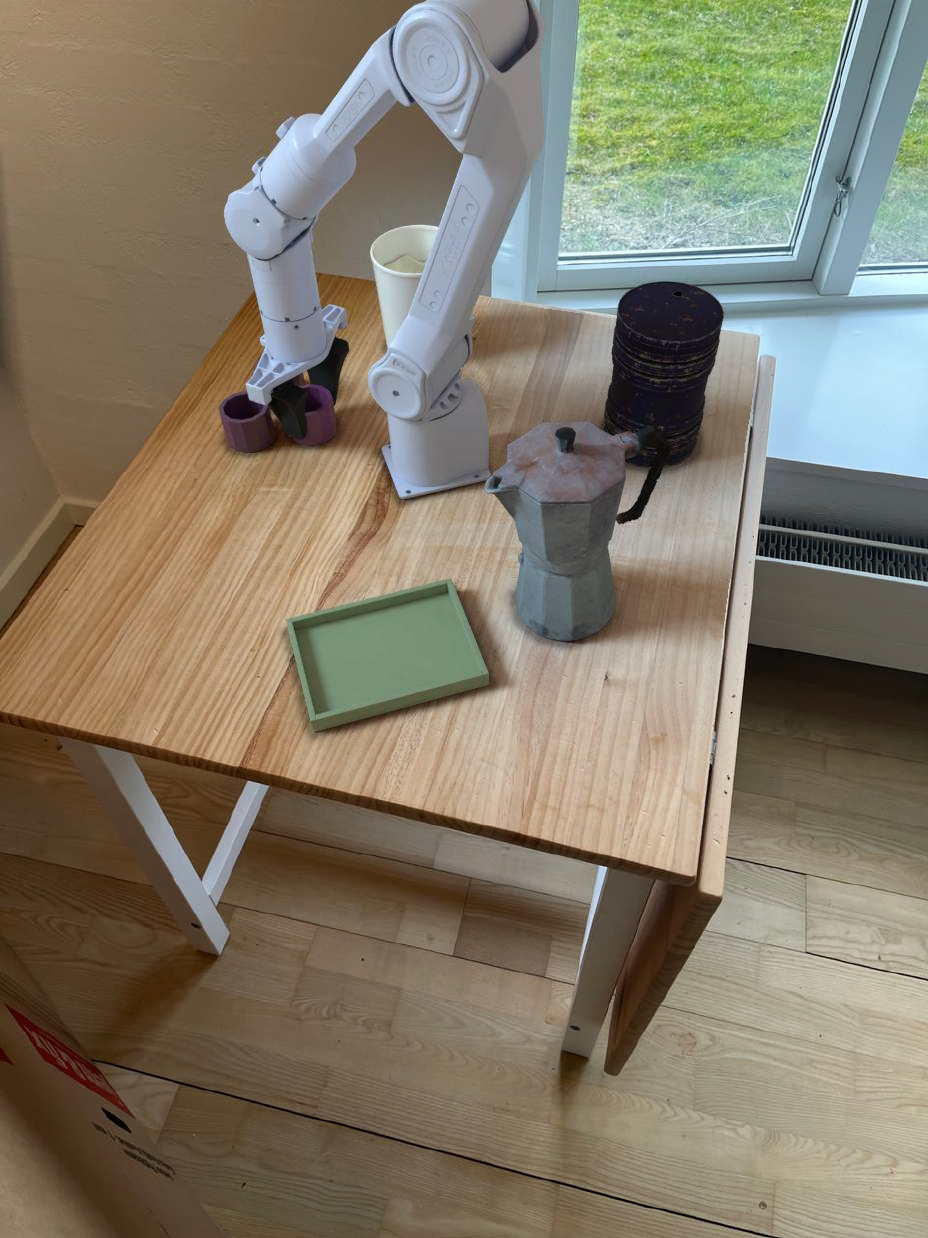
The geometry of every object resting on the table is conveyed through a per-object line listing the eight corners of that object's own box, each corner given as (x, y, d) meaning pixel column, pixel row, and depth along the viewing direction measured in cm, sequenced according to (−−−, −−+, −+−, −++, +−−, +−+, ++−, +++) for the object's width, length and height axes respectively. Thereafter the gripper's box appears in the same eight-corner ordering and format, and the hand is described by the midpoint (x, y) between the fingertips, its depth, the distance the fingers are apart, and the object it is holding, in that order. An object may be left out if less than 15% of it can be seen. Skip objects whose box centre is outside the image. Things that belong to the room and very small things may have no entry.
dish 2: (331, 410, 102) (326, 380, 99) (341, 439, 99) (336, 409, 96) (286, 420, 102) (279, 389, 98) (294, 449, 99) (288, 419, 95)
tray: (451, 590, 86) (451, 577, 85) (489, 685, 79) (489, 673, 78) (288, 631, 84) (285, 618, 82) (313, 732, 77) (310, 721, 76)
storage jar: (684, 479, 94) (711, 352, 83) (589, 456, 97) (603, 329, 85) (707, 418, 100) (735, 291, 88) (617, 397, 102) (632, 272, 91)
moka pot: (467, 591, 86) (461, 416, 70) (617, 539, 89) (643, 362, 74) (512, 669, 80) (516, 498, 65) (669, 610, 84) (710, 435, 68)
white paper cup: (384, 320, 112) (374, 224, 103) (467, 320, 112) (464, 223, 103) (377, 371, 106) (365, 274, 97) (464, 371, 106) (461, 273, 97)
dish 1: (270, 417, 102) (263, 386, 99) (278, 446, 99) (271, 416, 96) (224, 427, 101) (215, 396, 98) (231, 457, 98) (222, 426, 95)
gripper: (297, 256, 94) (317, 370, 105) (208, 335, 86) (239, 449, 97) (358, 273, 92) (372, 387, 102) (271, 355, 84) (296, 470, 94)
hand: (311, 419), depth 99 cm, fingers closed on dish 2, 5 cm apart
